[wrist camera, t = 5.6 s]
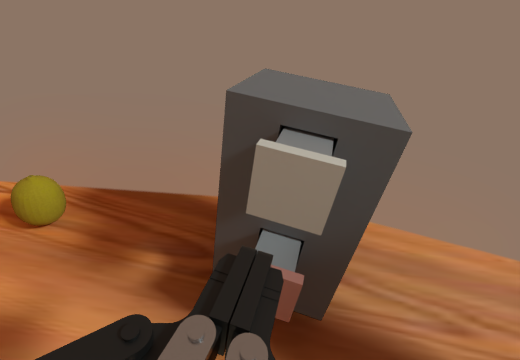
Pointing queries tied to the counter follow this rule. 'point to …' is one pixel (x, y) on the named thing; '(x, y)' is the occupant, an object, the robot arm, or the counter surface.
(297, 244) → the lower plunger
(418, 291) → the counter surface
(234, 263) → the robot arm
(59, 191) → the lemon
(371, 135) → the grey dispenser box
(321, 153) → the upper plunger
